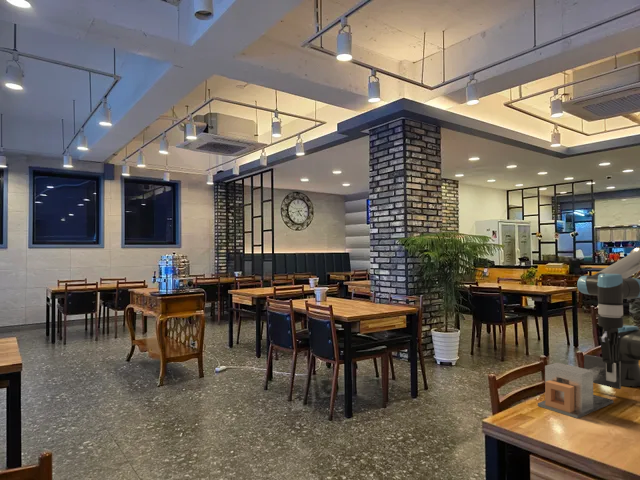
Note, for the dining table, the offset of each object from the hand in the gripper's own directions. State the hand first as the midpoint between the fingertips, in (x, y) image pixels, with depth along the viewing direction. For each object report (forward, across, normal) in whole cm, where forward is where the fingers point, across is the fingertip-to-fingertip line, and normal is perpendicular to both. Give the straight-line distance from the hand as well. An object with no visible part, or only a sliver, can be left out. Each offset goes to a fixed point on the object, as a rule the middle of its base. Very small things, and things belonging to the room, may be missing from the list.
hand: (611, 380), depth 154 cm
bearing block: (+7, +16, -5) cm, 18 cm away
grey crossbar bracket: (+3, +9, -5) cm, 11 cm away
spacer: (+6, +28, -5) cm, 28 cm away
